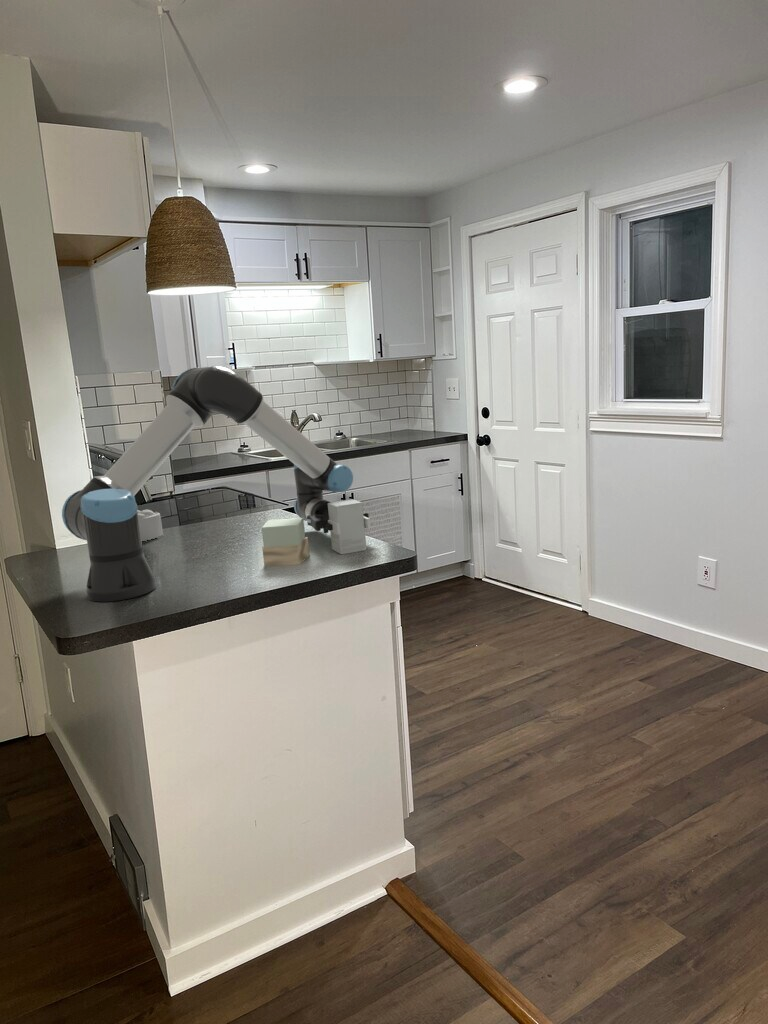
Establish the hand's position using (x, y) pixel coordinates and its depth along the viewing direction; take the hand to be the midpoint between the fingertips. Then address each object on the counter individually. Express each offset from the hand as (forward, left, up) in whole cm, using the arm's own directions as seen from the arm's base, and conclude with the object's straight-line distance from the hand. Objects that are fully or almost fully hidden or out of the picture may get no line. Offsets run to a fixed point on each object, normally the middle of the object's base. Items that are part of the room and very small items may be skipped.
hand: (353, 526), depth 192 cm
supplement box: (+4, +3, -7) cm, 9 cm away
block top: (-5, +17, -2) cm, 18 cm away
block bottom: (-5, +17, -7) cm, 19 cm away
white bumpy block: (+26, +74, -7) cm, 79 cm away
